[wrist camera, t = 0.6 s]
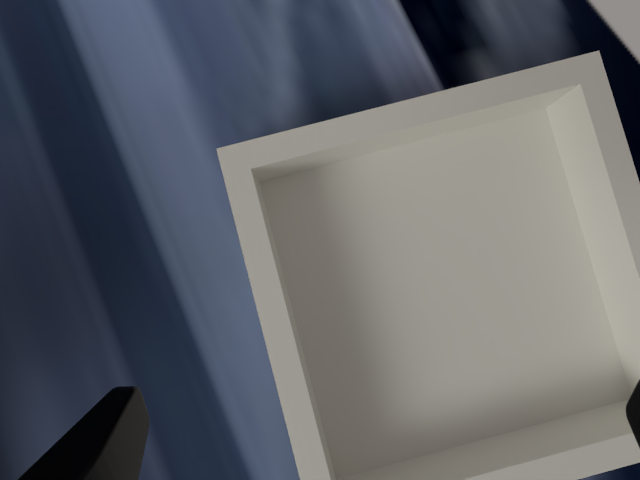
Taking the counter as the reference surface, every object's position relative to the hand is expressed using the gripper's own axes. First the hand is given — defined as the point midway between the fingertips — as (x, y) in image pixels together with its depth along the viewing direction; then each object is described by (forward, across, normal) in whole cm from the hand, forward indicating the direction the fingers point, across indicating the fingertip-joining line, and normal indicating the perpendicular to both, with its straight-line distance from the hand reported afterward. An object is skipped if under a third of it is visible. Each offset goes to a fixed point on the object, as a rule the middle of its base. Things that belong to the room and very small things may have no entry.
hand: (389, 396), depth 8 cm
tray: (+13, -5, +7) cm, 15 cm away
